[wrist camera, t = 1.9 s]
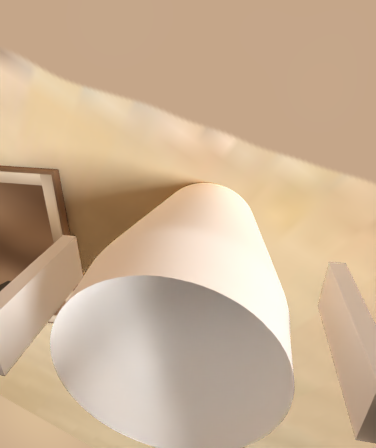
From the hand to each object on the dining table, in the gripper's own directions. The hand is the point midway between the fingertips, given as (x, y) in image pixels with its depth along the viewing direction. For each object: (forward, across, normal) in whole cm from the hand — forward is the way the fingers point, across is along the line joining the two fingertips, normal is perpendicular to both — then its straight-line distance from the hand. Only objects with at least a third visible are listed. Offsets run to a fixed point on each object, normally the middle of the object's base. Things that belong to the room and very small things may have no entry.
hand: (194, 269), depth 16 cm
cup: (+6, 0, 0) cm, 6 cm away
